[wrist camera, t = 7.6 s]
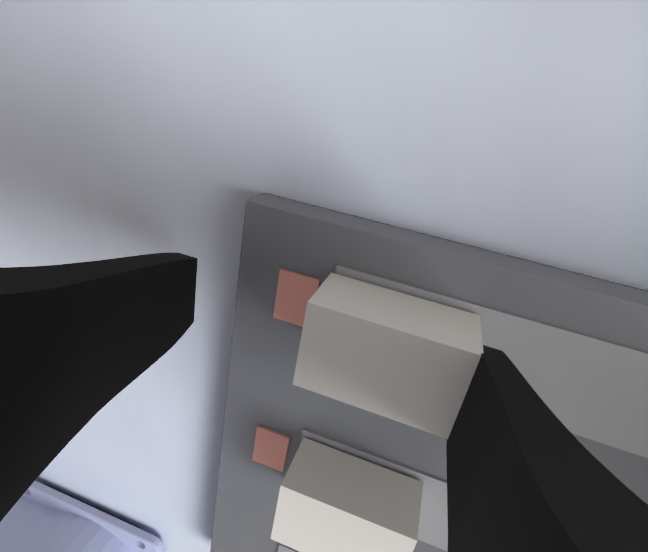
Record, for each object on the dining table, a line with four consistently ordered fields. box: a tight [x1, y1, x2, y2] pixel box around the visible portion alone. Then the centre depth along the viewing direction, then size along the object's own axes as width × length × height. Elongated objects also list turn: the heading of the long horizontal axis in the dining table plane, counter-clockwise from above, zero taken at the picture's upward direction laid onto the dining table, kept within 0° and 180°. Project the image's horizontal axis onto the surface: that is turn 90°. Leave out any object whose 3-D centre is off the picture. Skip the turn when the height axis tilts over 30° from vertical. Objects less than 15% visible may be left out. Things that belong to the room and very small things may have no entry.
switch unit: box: [210, 193, 648, 552], centre depth 14 cm, size 15×17×1 cm
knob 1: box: [293, 273, 484, 439], centre depth 11 cm, size 4×2×2 cm, turn 80°
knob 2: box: [270, 438, 423, 552], centre depth 13 cm, size 4×2×2 cm, turn 80°
